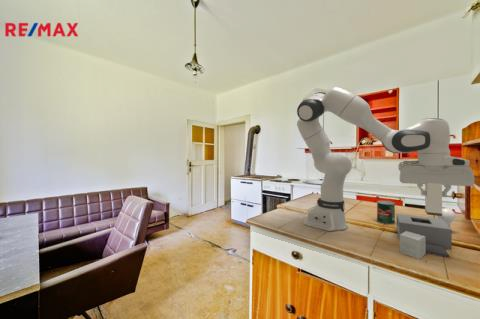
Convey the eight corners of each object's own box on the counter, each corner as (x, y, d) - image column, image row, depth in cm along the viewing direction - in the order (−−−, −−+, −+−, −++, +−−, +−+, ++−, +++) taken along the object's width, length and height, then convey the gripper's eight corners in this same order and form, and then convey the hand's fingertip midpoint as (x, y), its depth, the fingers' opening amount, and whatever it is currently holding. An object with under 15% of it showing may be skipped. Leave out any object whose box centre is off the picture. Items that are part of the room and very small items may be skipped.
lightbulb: (452, 234, 88) (452, 211, 87) (433, 229, 94) (433, 207, 93) (458, 231, 90) (458, 209, 90) (440, 227, 96) (440, 205, 96)
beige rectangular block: (427, 214, 74) (427, 179, 74) (425, 211, 78) (424, 177, 77) (442, 216, 72) (441, 179, 72) (439, 213, 75) (439, 178, 75)
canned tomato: (378, 223, 105) (378, 203, 104) (376, 218, 112) (375, 200, 111) (396, 225, 101) (396, 204, 100) (393, 220, 108) (392, 201, 107)
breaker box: (399, 239, 85) (399, 222, 85) (396, 228, 97) (396, 213, 96) (451, 249, 76) (451, 229, 76) (441, 235, 87) (441, 218, 87)
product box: (406, 248, 79) (406, 230, 78) (426, 254, 73) (426, 236, 73) (399, 252, 76) (399, 234, 75) (419, 259, 70) (419, 240, 70)
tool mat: (423, 252, 75) (423, 250, 75) (419, 245, 80) (419, 242, 80) (449, 257, 70) (449, 255, 70) (443, 249, 76) (443, 246, 76)
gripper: (399, 161, 77) (399, 195, 78) (476, 160, 65) (476, 200, 66) (397, 160, 83) (398, 191, 83) (469, 159, 71) (469, 196, 71)
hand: (433, 195), depth 74 cm, fingers closed on beige rectangular block, 4 cm apart
